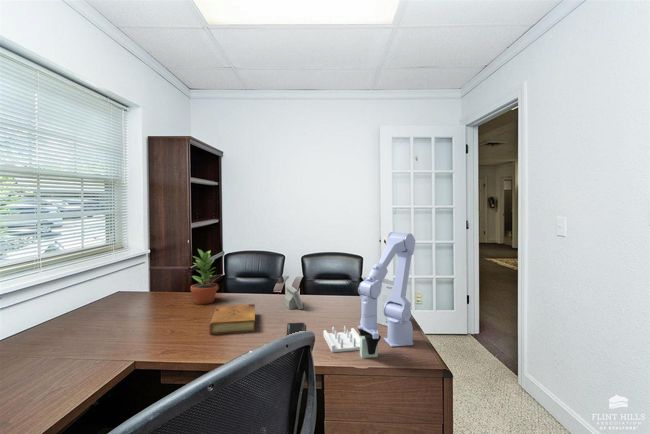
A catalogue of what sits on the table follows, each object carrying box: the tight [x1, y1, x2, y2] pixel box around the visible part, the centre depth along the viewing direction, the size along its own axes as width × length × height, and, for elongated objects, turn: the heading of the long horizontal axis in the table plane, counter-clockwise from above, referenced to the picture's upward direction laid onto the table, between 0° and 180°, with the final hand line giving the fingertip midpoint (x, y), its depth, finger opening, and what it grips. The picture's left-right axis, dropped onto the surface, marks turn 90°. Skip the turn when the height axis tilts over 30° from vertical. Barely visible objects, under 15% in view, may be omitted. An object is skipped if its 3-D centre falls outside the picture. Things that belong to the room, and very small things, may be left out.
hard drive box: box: [377, 278, 401, 327], centre depth 154 cm, size 16×8×20 cm, turn 47°
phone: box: [286, 322, 306, 336], centre depth 144 cm, size 8×1×15 cm
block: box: [359, 335, 379, 359], centre depth 120 cm, size 6×2×7 cm, turn 102°
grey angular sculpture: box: [283, 284, 304, 310], centre depth 178 cm, size 16×9×11 cm, turn 12°
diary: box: [209, 303, 256, 336], centre depth 152 cm, size 23×19×6 cm
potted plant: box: [190, 248, 219, 305], centre depth 186 cm, size 15×15×30 cm
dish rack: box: [323, 325, 361, 353], centre depth 132 cm, size 13×16×4 cm
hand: (368, 350), depth 120 cm, fingers open, 5 cm apart
